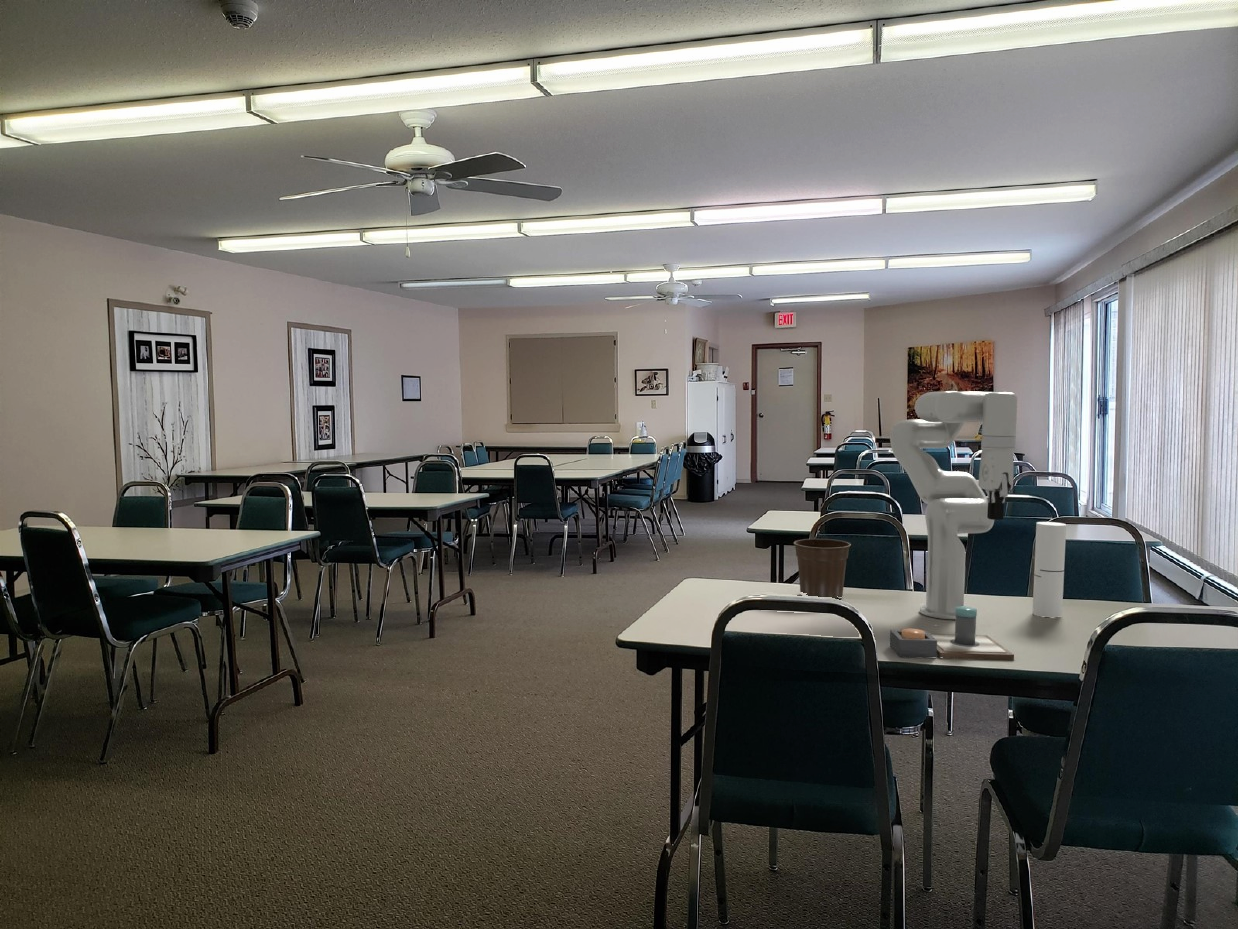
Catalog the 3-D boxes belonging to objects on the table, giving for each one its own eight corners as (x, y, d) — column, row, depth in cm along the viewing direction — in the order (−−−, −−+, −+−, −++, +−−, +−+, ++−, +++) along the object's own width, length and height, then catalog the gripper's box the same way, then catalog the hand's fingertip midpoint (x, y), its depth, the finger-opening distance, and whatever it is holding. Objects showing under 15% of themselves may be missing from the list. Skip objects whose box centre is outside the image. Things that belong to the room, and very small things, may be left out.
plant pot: (800, 603, 239) (801, 547, 237) (786, 590, 255) (787, 538, 254) (856, 603, 239) (858, 547, 238) (839, 591, 255) (841, 538, 254)
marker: (951, 639, 197) (952, 606, 197) (971, 640, 197) (972, 606, 196) (958, 645, 193) (959, 610, 192) (978, 645, 192) (979, 611, 192)
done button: (898, 643, 194) (899, 628, 194) (920, 643, 194) (921, 628, 194) (904, 649, 189) (905, 634, 189) (927, 649, 189) (927, 634, 189)
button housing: (889, 646, 196) (890, 629, 196) (925, 647, 195) (925, 630, 195) (899, 657, 188) (899, 639, 187) (936, 658, 187) (937, 640, 187)
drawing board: (919, 638, 203) (919, 632, 203) (986, 640, 202) (986, 634, 202) (940, 658, 187) (940, 651, 187) (1013, 660, 186) (1014, 653, 186)
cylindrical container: (1054, 619, 223) (1059, 526, 221) (1027, 614, 228) (1031, 523, 226) (1066, 615, 227) (1070, 524, 225) (1039, 610, 233) (1043, 521, 231)
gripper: (971, 442, 209) (968, 515, 211) (994, 444, 195) (991, 523, 196) (1001, 442, 209) (998, 515, 210) (1027, 445, 194) (1024, 523, 195)
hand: (995, 519), depth 203 cm, fingers closed
